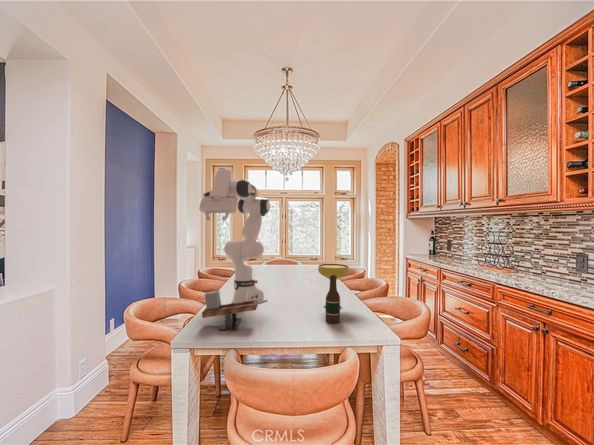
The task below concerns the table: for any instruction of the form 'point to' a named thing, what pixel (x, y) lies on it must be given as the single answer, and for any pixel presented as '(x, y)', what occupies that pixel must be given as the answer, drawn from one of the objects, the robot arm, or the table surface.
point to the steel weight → (213, 300)
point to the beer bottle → (333, 302)
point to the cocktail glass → (333, 271)
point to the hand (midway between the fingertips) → (216, 220)
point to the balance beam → (232, 308)
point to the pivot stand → (230, 322)
